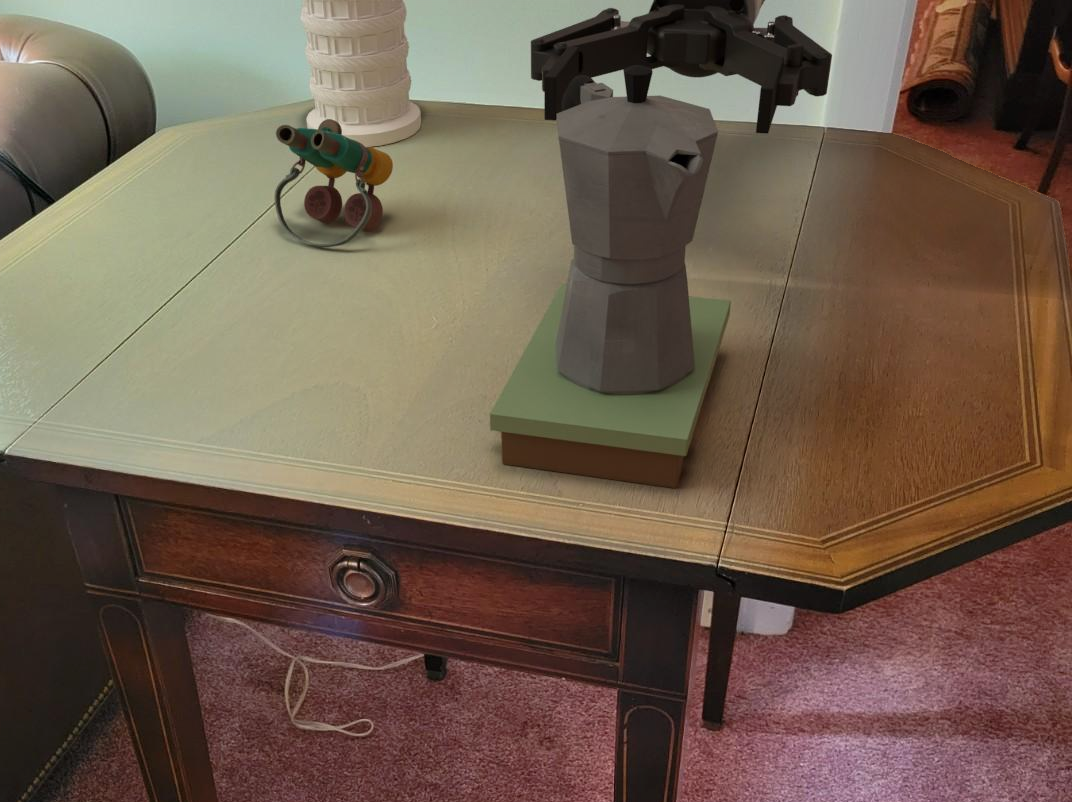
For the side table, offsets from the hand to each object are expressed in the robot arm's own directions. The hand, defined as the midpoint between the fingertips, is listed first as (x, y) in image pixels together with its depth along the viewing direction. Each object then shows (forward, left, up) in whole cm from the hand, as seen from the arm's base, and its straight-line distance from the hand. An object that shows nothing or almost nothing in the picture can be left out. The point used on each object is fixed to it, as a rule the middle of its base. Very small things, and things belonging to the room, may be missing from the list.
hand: (654, 105), depth 77 cm
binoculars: (+29, -14, -17) cm, 36 cm away
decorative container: (+36, -38, -17) cm, 55 cm away
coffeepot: (0, +9, -13) cm, 16 cm away
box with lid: (0, +9, -17) cm, 19 cm away
